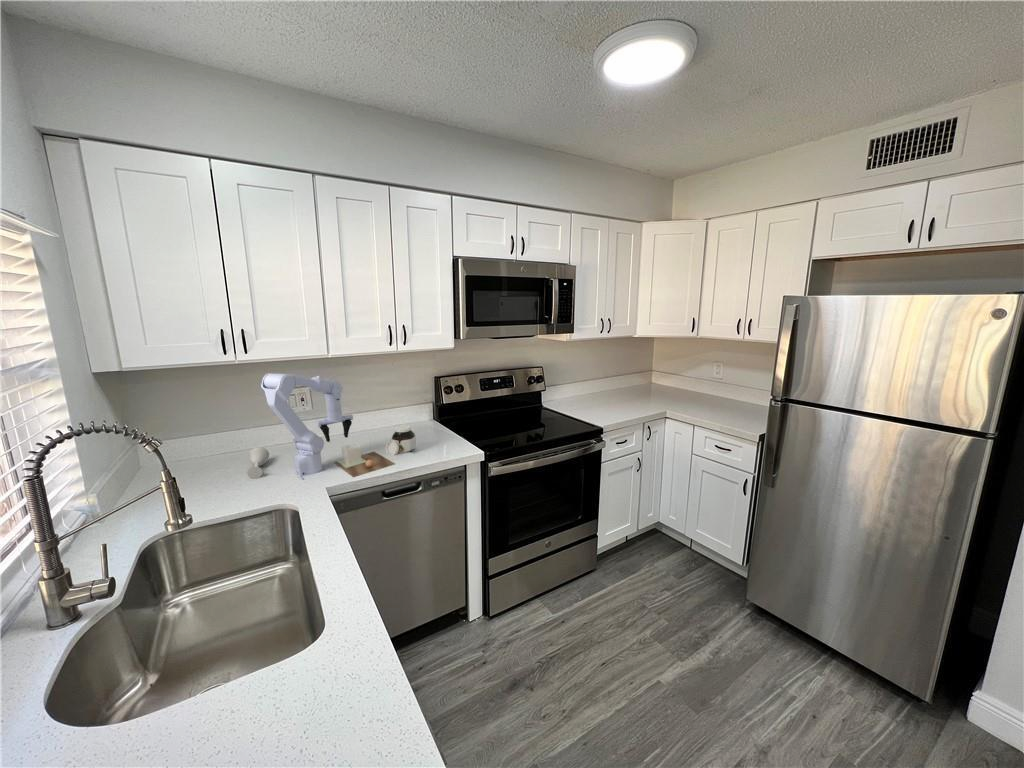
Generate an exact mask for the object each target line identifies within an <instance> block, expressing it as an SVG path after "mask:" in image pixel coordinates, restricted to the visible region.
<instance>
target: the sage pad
mask: <svg viewBox="0 0 1024 768" xmlns="http://www.w3.org/2000/svg"><path fill="white" fill-rule="evenodd" d="M361 459H362V462H358V463H355V464H351V465H347V464H346V463H345V462H343V459H341V460H337V461H336V462H338V463H340V464H341V465H342V466H344V467H345V468H349V467H352V466H356V465H359V464H362V463H366V460H364V459H363V458H361Z"/></svg>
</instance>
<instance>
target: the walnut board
mask: <svg viewBox="0 0 1024 768" xmlns="http://www.w3.org/2000/svg"><path fill="white" fill-rule="evenodd" d="M361 458H363V459H364V460H366V461H367V460H372V461H373V466H371V467H367V466H366V463H362V464H359V465H356V466H352V467H349V468H345V467H344V466H342V465H341V464H340V463H338V462H337V461H335V462H333V464H334V465H336V466H337V467H338V468H340V469H341V470H343V472H346V473H347V474H348V475H350V476H351V477H352V478H356V477H360V476H362V475H365V474H369V473H371V472H375V471H379V470H381V469H385V468H388V467H392V466H394V465H396V463H395V462H393V461H392V460H390V459H388V458H386V457H385V456H382V455H381V454H379V453H378V452H376V451H371V452H367V453H363V454H361Z"/></svg>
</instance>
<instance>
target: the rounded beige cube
mask: <svg viewBox="0 0 1024 768" xmlns="http://www.w3.org/2000/svg"><path fill="white" fill-rule="evenodd" d="M361 451H362V450H361V446H360V445H358V444H356V443H351V444H348V445H343V446H341V454H342V460H343V462H345V463H346V464H347V465H351V464H355V463H358V462H362V459H361V455H362V452H361Z"/></svg>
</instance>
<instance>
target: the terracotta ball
mask: <svg viewBox="0 0 1024 768" xmlns="http://www.w3.org/2000/svg"><path fill="white" fill-rule="evenodd" d="M366 466H367V467H371V466H373V461H372V460H367V461H366Z"/></svg>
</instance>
